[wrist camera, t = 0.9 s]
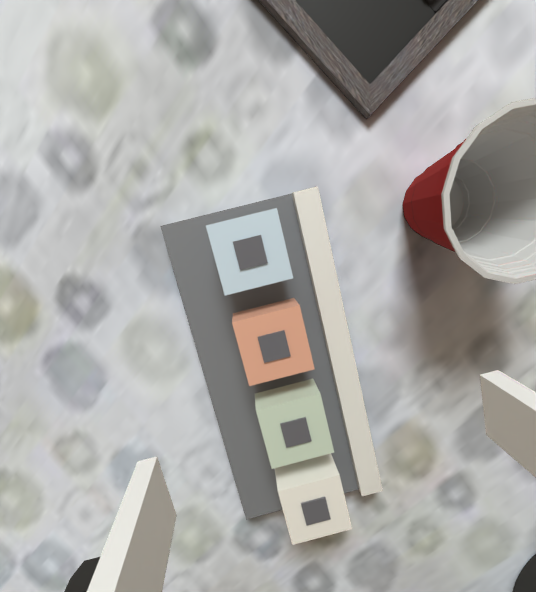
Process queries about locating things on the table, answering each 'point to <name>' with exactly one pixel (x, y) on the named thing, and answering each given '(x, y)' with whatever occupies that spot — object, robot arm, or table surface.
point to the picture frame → (367, 39)
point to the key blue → (250, 251)
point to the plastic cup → (484, 197)
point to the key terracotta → (272, 341)
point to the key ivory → (312, 499)
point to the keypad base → (327, 375)
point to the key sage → (293, 423)
